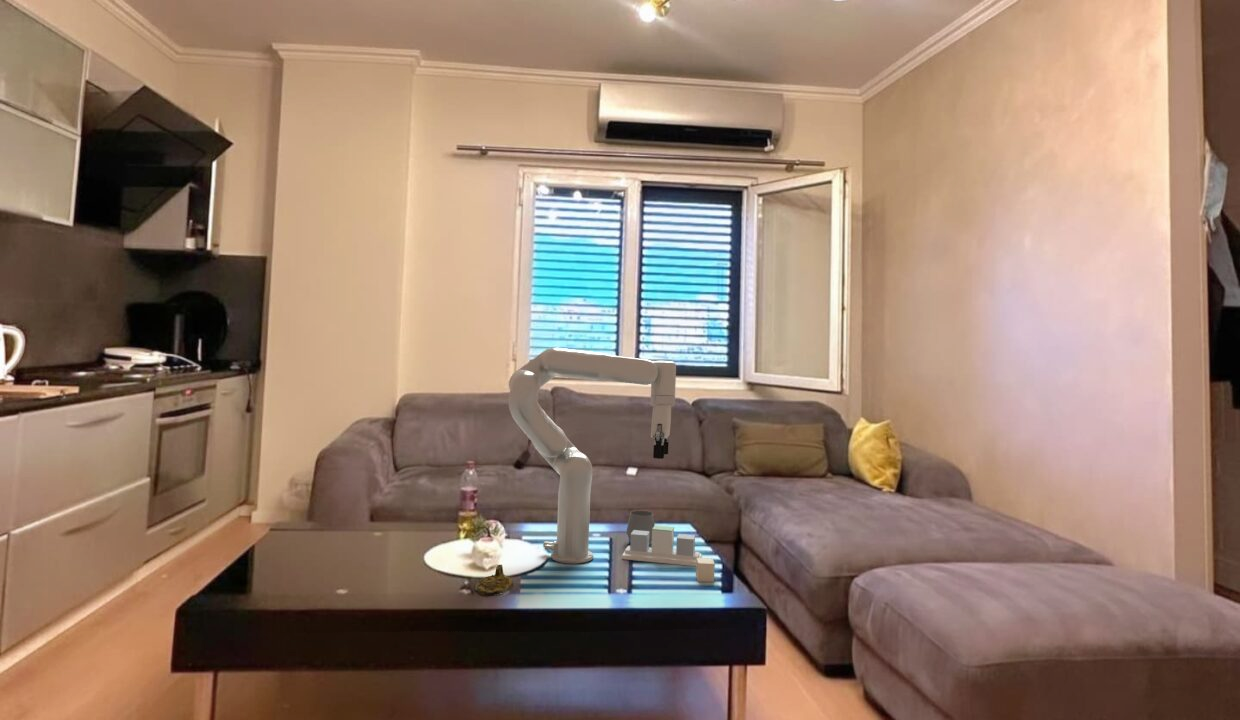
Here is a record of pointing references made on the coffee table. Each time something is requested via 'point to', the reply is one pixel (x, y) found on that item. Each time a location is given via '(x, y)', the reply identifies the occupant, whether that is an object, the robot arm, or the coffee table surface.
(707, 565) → the block
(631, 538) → the rail board
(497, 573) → the seal
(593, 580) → the coffee table surface
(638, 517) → the cup
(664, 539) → the module
